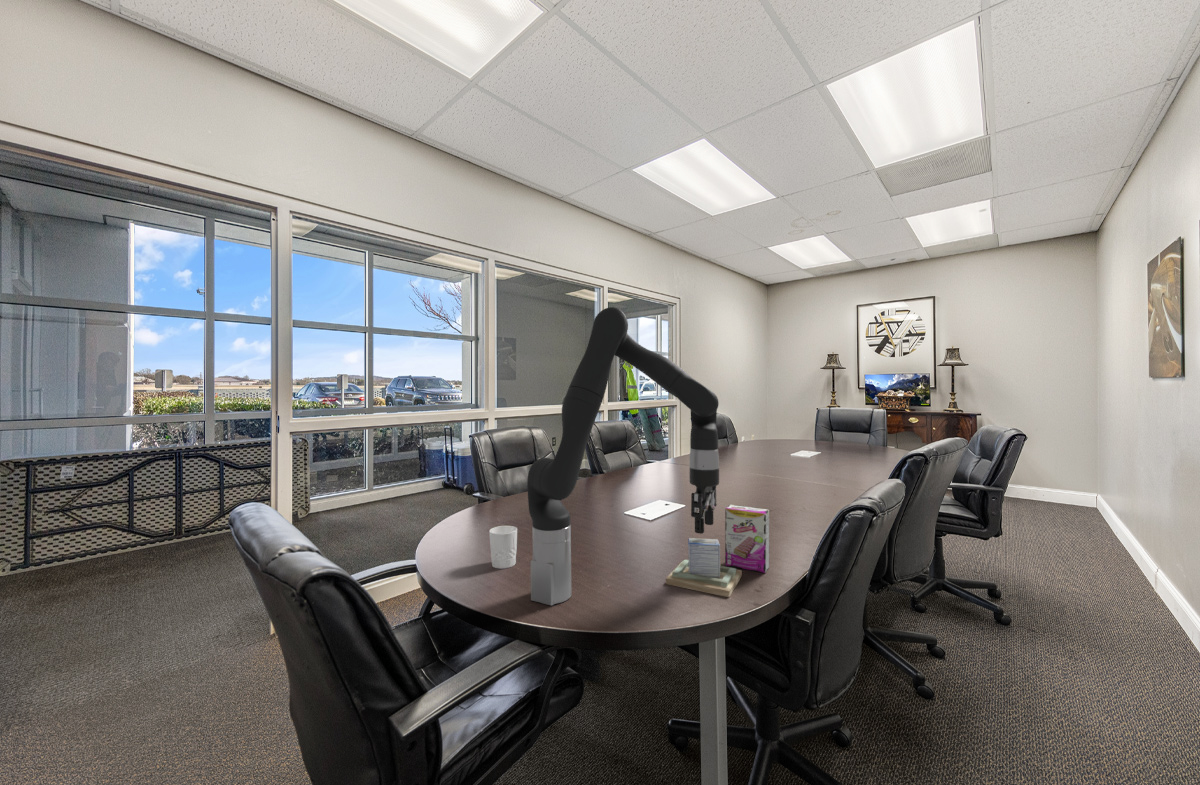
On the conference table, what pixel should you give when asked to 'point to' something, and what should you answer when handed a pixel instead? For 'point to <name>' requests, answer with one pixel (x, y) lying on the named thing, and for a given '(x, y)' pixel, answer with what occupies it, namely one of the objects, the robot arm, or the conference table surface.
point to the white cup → (503, 546)
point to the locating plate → (705, 580)
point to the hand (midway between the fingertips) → (704, 528)
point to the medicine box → (704, 557)
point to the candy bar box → (747, 538)
